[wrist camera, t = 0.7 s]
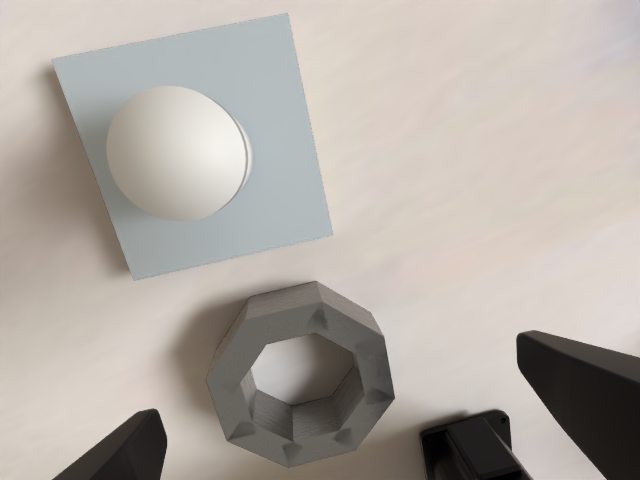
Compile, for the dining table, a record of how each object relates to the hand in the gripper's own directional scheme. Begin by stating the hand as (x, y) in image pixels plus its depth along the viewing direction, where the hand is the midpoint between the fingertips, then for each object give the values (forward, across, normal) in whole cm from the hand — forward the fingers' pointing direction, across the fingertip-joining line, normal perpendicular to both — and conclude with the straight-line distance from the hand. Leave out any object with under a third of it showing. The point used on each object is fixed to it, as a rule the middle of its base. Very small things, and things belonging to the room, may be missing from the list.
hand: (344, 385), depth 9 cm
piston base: (+12, +4, -6) cm, 15 cm away
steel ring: (+13, +2, +7) cm, 15 cm away
